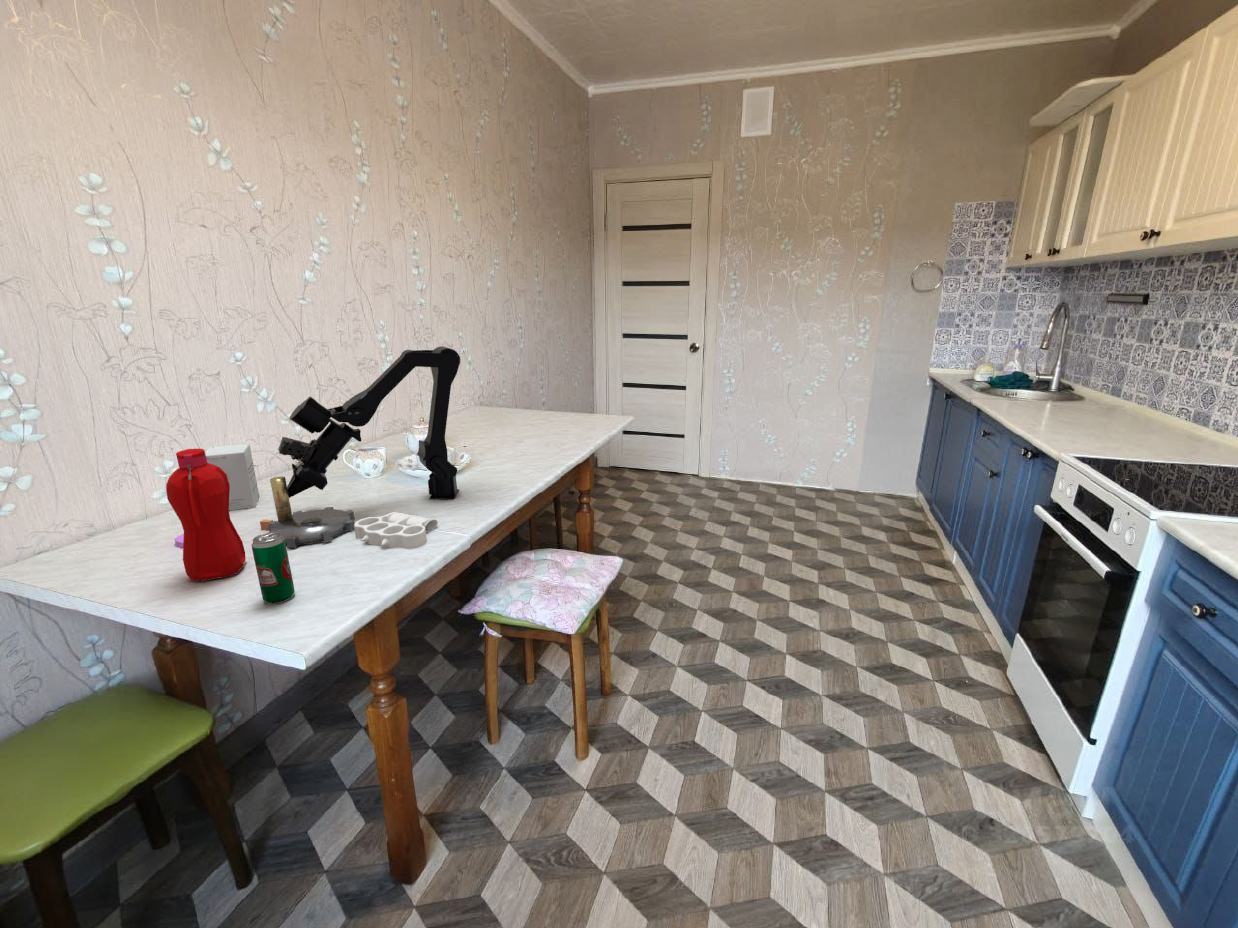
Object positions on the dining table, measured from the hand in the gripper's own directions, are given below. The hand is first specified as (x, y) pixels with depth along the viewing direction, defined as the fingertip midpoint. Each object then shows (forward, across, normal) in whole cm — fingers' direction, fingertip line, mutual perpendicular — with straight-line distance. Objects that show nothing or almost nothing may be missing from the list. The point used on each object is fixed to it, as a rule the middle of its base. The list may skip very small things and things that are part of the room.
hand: (284, 497), depth 132 cm
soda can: (+8, +36, +2) cm, 37 cm away
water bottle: (+15, +19, -5) cm, 25 cm away
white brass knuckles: (-8, +20, +20) cm, 29 cm away
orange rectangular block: (+8, 0, +2) cm, 8 cm away
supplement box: (+12, -22, -2) cm, 26 cm away
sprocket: (+2, +7, +8) cm, 11 cm away
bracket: (+17, +2, -7) cm, 19 cm away
